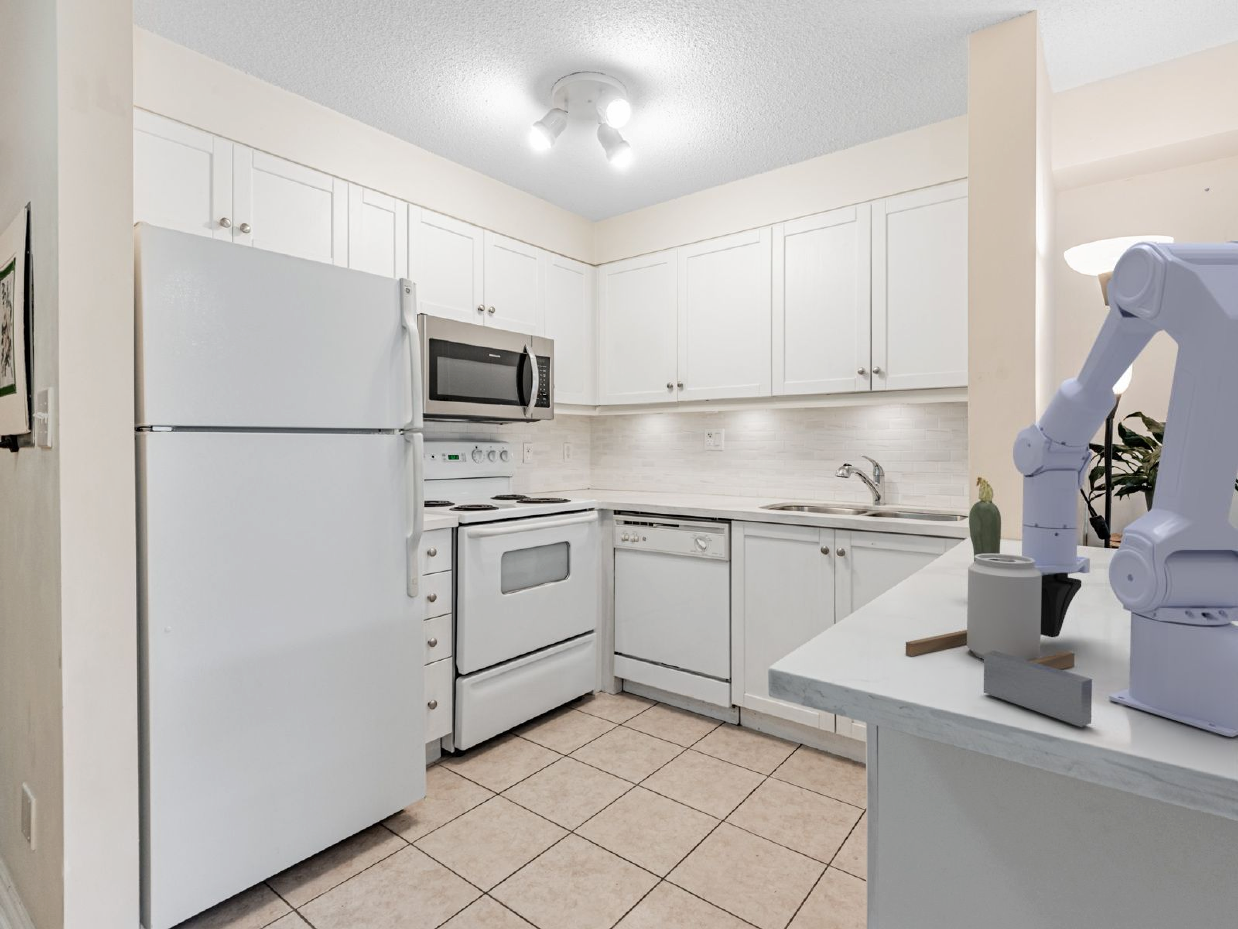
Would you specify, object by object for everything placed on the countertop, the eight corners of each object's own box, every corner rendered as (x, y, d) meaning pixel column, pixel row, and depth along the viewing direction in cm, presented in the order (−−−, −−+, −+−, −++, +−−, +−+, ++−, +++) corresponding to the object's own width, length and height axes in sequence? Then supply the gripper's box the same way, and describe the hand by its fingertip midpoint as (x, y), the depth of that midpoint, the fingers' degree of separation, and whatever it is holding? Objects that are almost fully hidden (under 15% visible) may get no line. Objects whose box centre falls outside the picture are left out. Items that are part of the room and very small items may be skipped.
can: (1027, 650, 80) (1029, 552, 80) (1050, 670, 73) (1052, 563, 73) (960, 645, 82) (961, 549, 82) (975, 664, 75) (977, 560, 75)
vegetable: (1005, 608, 100) (1007, 477, 100) (976, 608, 101) (979, 477, 100) (989, 601, 105) (991, 476, 104) (962, 600, 105) (964, 476, 104)
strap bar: (1091, 723, 58) (1092, 679, 58) (1080, 727, 58) (1081, 682, 58) (993, 689, 66) (994, 650, 66) (983, 692, 66) (984, 653, 66)
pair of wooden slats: (1074, 666, 74) (1074, 653, 74) (1000, 686, 68) (1000, 672, 68) (977, 639, 85) (977, 627, 85) (905, 654, 78) (905, 642, 78)
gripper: (1050, 519, 88) (1048, 619, 88) (981, 525, 81) (979, 634, 82) (1109, 525, 82) (1106, 633, 82) (1039, 532, 75) (1037, 650, 76)
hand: (1047, 634), depth 82 cm, fingers closed
